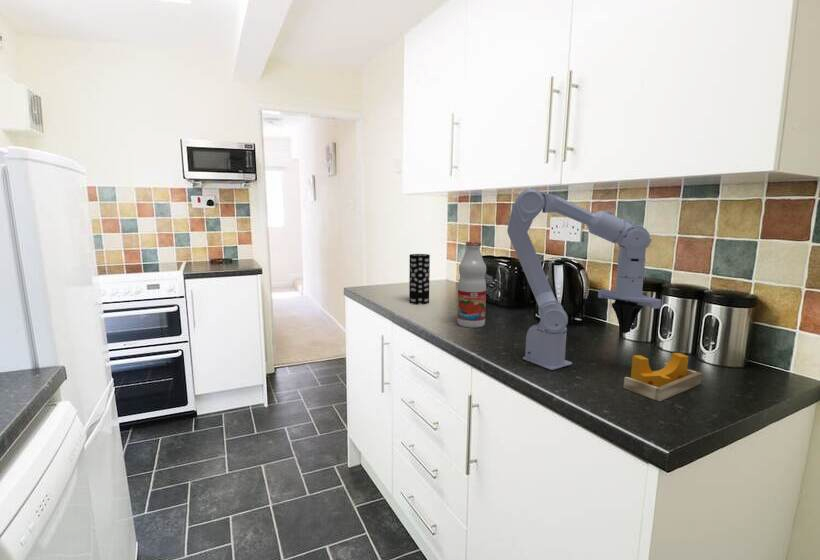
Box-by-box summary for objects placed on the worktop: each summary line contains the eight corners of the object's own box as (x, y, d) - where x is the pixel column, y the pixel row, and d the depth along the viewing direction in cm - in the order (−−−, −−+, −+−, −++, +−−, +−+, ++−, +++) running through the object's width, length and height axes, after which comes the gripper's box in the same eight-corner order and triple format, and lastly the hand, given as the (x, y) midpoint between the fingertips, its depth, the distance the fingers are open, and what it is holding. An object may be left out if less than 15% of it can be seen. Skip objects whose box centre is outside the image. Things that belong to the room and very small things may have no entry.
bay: (623, 388, 94) (624, 377, 93) (665, 372, 103) (666, 362, 102) (659, 401, 87) (660, 390, 87) (700, 383, 96) (702, 373, 96)
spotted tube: (428, 300, 183) (428, 253, 180) (430, 304, 175) (430, 256, 172) (408, 300, 183) (408, 253, 179) (410, 304, 174) (410, 256, 171)
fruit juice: (483, 321, 149) (486, 241, 145) (486, 328, 140) (489, 243, 135) (456, 320, 150) (458, 240, 145) (457, 327, 141) (459, 242, 136)
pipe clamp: (643, 390, 93) (646, 362, 92) (630, 382, 97) (632, 355, 96) (691, 387, 95) (695, 359, 94) (676, 379, 99) (679, 352, 98)
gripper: (670, 279, 97) (664, 336, 100) (611, 271, 109) (607, 322, 112) (653, 282, 94) (647, 341, 96) (594, 273, 106) (590, 326, 108)
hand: (624, 331), depth 103 cm, fingers closed
